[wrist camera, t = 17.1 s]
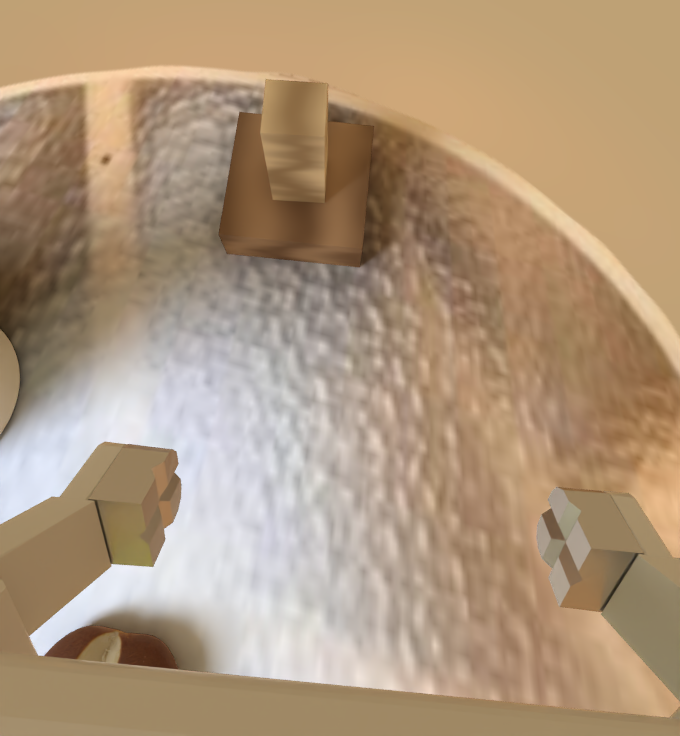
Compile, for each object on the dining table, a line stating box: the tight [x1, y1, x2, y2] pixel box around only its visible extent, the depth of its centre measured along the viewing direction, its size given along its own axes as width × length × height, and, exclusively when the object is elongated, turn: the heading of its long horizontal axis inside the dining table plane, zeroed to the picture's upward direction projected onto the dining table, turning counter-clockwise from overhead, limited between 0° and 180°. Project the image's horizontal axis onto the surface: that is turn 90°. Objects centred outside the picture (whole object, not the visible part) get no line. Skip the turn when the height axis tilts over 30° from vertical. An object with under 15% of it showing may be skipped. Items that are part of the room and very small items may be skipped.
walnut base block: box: [219, 112, 374, 267], centre depth 43 cm, size 12×12×4 cm
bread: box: [45, 626, 178, 669], centre depth 32 cm, size 11×11×5 cm
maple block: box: [260, 79, 328, 203], centre depth 37 cm, size 4×4×8 cm
